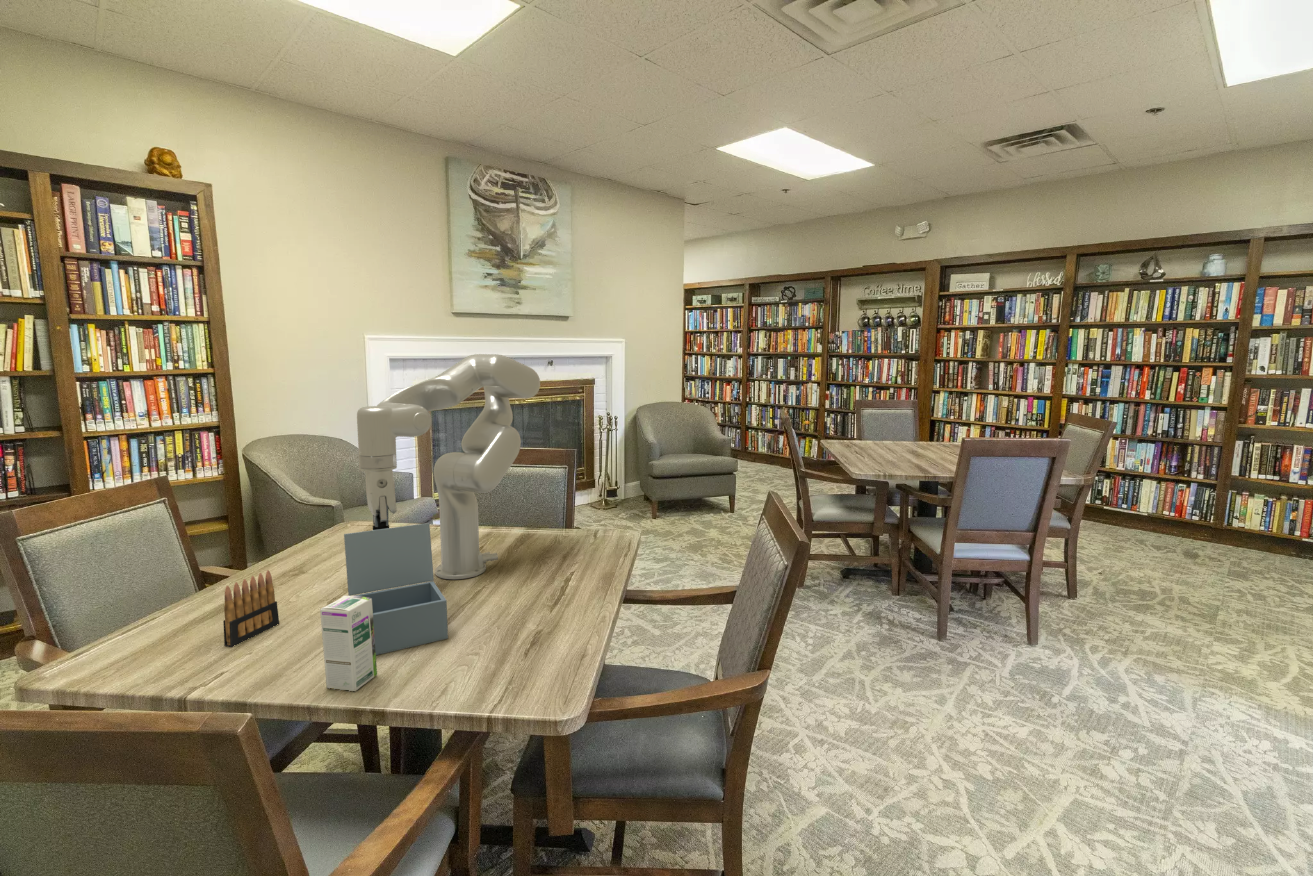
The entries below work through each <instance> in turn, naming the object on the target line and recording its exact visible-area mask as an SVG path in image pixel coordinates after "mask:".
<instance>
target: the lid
mask: <svg viewBox="0 0 1313 876" xmlns="http://www.w3.org/2000/svg"><path fill="white" fill-rule="evenodd" d="M343 540H344V553H345V564H346V565H345V566H346V582H347V594H348V595H347V596H354V595H359V594H365V593H370V592H376V591H381V590H387V589H393V588H398V587H404V586H409V585H415V584H420V583H426V582H431V581H433V582H435V581H434V579H435V578H434V565H433V553H432V551H433V550H432V537H431V525H430V523H429V522H427V523H426V522H425V523H418V524H411V525H410V524H409V525H404V526H402V525H401V526H395V527H389V528H386V529H379V530H373V529H372V530H366V531H365V530H364V531H358V532H351V533H349V532H348V533H344V534H343Z"/></svg>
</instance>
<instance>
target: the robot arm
mask: <svg viewBox="0 0 1313 876" xmlns="http://www.w3.org/2000/svg"><path fill="white" fill-rule="evenodd" d="M539 376H540V375H539V374H538V373H537V372H536V370H535V369H533V368H532V367H530V366H527V365H526V364H523V363H521V362H519V361H517V360H514V359H512V358H511V357H509V356H505V355H502V354H498V353H497V354H494V353H491V354H488V353H485V354H484V353H478V354H477V353H475V354H471V355H468V356H466V357H464V358H463V359H461V360H459V361H458V362H457V363H455V364H453V365H452V366H451V367H448V369H446V370H445V371H443V372H441V373H440V374H437V376H434V377H432V378H429V379H426V380H424V381H421V382H418V383H415V384H413V385H409V386H408V387H404V388H403V389H400V390H399V391H396V392H395V393H393V394H391V395H390V396H388V397H387V398H385V399H383V400H382V401H380V402H379V403H378V404H377V405H374V406H373V405H372V406H371V405H369V406H368V405H367V406H362V407H359V409H358V410H357V411H356V424H357V443H358V464H359V467H358V468H359V471H361V472H365V490H366V491H365V492H366V502H367V507H368V510H369V512H370V514H372V523H373V525H372V530H379V529H386V528H390V524H389V522H390V521H389V520H390V519H389V511H390V513H392V515H394V514H396V513H397V512H398V511H397V502H396V499H397V497H396V488H395V479H394V478H395V477H394V473H393V472H394V471H393V470H396V469H397V468H398V464H397V461H398V460H397V442H396V440H397V439H396V438H397V437H403V438H406V437H407V438H415V437H419V436H420V437H421V436H422V435H424V434H426V433H427V432H428V431H429V430H430V428H431V425H432V416H431V412H432V411H438V410H444V409H448V408H452V407H455V406H458V405H459V404H461V403H463V401H465V400H466V399H467V398H469V397H470V396H471V395H473V394H474V393H475V392H477V391H478V390H480V389H481V388H483V391H484V400H485V401H484V402H485V403H484V407H483V409H482V411H481V412H480V413H479V415H478V416H477V418H476V419H474V421H473V423H472V424H471V425H470V427H468V429H467V431H465V433H464V435H463V437H462V440H461V444H460V445H461V449H462V451H463V452H458V451H454V452H447V453H444V454H442V455H441V456H440V457H439V458H437V460H436V461H435V464H434V467H433V477H434V478H433V479H434V481H435V482H434V483H435V485H436V486H435V487H436V491H437V494H438V495H437V496H438V503H439V505H438V507H439V533H440V555H441V556H440V557H441V559H440V560H441V564H440V565H438V566H437V567H436V568H435V575H436V576H437V577H438V578H440V579H445V580H464V579H469V578H474V577H477V576H479V575H481V574H483V573H484V572H486V570H487V566H486V564H487V562H493V561H494V562H495V561H498V559H499V558H498V557H499V555H498V552H494V553H491V552H490V551H487V552H483V553H482V552H481V550H480V535H479V533H480V532H479V529H480V527H479V505H478V500H477V497H476V494H475V493H479V494H486V493H490V492H492V491H493V490H494V489H495V488H497V486H498V485H499V484H500V483H501V481H502V479H503V478H504V477H505V475H506V474H507V472H508V470H510V468H511V467H512V465H513V463H514V462H515V460H516V459H517V457H518V455H519V453H520V450H521V444H522V443H521V439H522V438H521V435H520V433H519V431H518V430H517V429H516V428H515V427H513V426H511V424H512V422H513V420H514V419H513V418H514V417H513V416H514V415H513V411H512V407H511V405H510V404H511V403H510V400H509V399H510V398H511V399H531V398H533V397H535V396H536V395H537V394H538V393H539V390H540V387H541V380H540V377H539Z"/></svg>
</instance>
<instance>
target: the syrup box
mask: <svg viewBox="0 0 1313 876" xmlns="http://www.w3.org/2000/svg"><path fill="white" fill-rule="evenodd" d="M319 613H320V625H321V626H320V627H321V637H322V648H323V649H322V650H323V657H324V658H323V660H324V673H325V674H324V675H325V684H326V685H325V686H326V688H327V689H330V688H334V689H333V690H335V689H340V690H339V691H341V690H349V691H348V692H350V691H356V690H357V691H358V690H359V689H360V688H361V687H363V686H364V685H365V684H367V683H368V682H370V681H371V680H372V679H373V678H375V677H376V676H377V675H378V671H377V670H378V667H377V666H378V665H377V655H376V652H375V637H374V623H373V609H372V599H371V598H368V597H362V596H354V595H351V596H349V595H343V596H342V597H341V598H339V599H337V600H335V601H334V602H331V603H329V604H327V605H325V606H323V607H321V608H320V610H319ZM357 691H356V692H357Z"/></svg>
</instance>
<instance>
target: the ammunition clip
mask: <svg viewBox="0 0 1313 876" xmlns="http://www.w3.org/2000/svg"><path fill="white" fill-rule="evenodd" d="M275 597H276V596H275V588H274V584H273V577H272V573H271V572H270V570H269V569H268V570H266V573H265V578H264V575H263V574H262V572H260V573H259V574H258V578H257V581H256V578H255V577H254V575H252V576H251V578H250V582H249V583H248V581H247V580H246V578H244V579H243V581H242V583H241V588H240V584H239V583H238V582H234V585H233V593H232V590H231V587H230V585H226V586H225V589H224V606H223V607H224V608H223V611H224V620H223V643H224V644H223V646H224V647H229V648H233V646H234V645H236V646H237V644H238V645H239V643H240V644H242V643H244V642H246V641H248V640H249V639H248V638H250V639H252V638H254V637H256V636H258V635H260V634H262V633H264V632H266V631H268V630H270V629H272V628H274V627H273V626H275V627H277V626H278V625H277V624H279V625H280V619H279V610H278V609H279V608H278V602H277V600H276V598H275ZM276 625H277V626H276ZM263 631H264V632H263ZM259 633H260V634H259ZM255 635H256V636H255ZM251 637H252V638H251ZM247 639H248V640H247ZM245 640H246V641H245ZM243 641H244V642H243ZM241 642H242V643H241ZM234 647H235V646H234Z"/></svg>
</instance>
